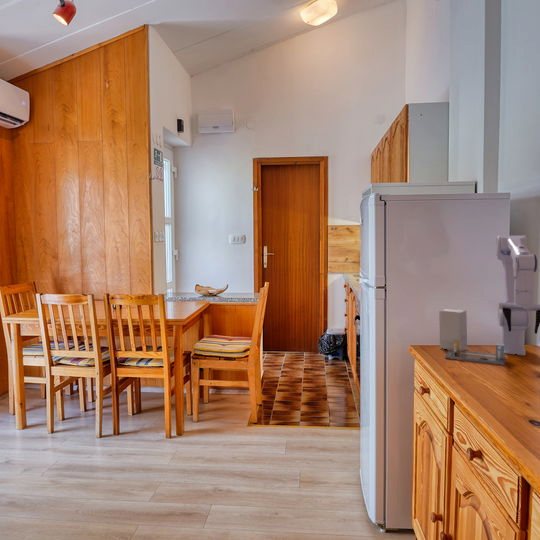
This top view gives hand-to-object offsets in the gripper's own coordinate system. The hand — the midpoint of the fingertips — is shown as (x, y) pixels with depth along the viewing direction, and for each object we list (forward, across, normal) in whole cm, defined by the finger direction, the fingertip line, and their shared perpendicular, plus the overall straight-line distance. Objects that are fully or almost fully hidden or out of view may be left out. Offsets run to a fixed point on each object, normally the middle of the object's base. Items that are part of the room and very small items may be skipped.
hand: (522, 332), depth 152 cm
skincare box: (+10, -23, +9) cm, 27 cm away
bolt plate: (+10, -14, -1) cm, 18 cm away
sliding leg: (+9, -7, -1) cm, 11 cm away
